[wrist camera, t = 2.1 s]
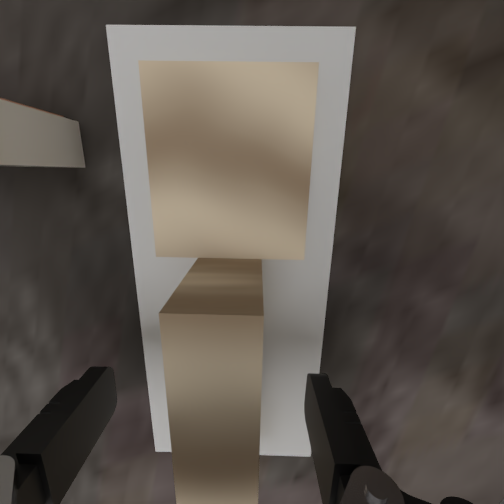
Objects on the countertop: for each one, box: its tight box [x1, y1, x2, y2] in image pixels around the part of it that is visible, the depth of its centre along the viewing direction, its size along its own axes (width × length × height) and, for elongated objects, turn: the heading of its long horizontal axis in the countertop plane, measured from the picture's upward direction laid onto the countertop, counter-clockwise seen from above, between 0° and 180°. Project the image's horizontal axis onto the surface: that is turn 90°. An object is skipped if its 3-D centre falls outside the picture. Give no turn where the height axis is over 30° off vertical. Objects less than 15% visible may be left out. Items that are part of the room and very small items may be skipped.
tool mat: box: [106, 25, 356, 457], centre depth 14 cm, size 10×23×1 cm, turn 179°
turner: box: [138, 60, 319, 504], centre depth 11 cm, size 20×7×6 cm, turn 179°
